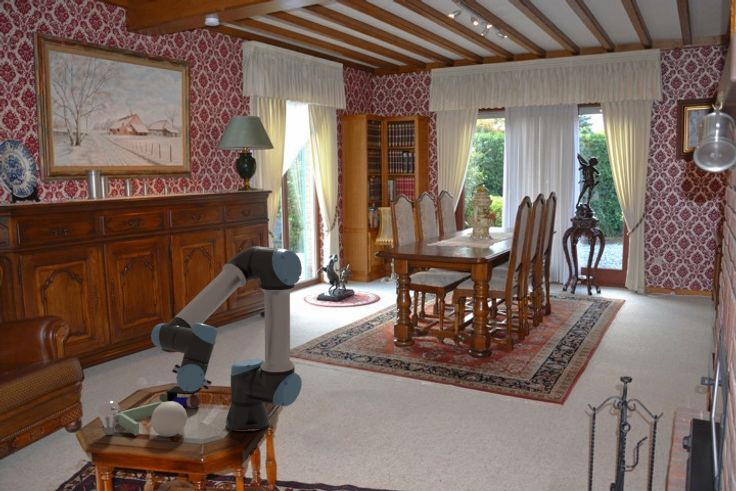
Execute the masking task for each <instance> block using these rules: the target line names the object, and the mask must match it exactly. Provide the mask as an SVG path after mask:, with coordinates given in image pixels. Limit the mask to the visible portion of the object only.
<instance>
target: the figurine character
mask: <svg viewBox="0 0 736 491" xmlns="http://www.w3.org/2000/svg"><path fill="white" fill-rule="evenodd" d="M202 389H203V387H200V388H199V389H198V390H196V391H191V392H189V391H183V389H181V388H180V387H179V385H175V386H173V387H172V388H169V389H168V390H166V391H165V392H162V393H160V394H159V400H160V401H163V402H169V401H173V402H177V403H179V404H180V405H182V406H187V407H188V408H190V409H195V408H198V406H200V405H201V399H200V397H199V396H198V395H197V394H196V393H198V392H199V391H201V390H202ZM178 395H189V396H178Z"/></svg>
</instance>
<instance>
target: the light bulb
mask: <svg viewBox="0 0 736 491" xmlns="http://www.w3.org/2000/svg"><path fill="white" fill-rule="evenodd" d="M120 412H121V407H120V405H119V403H117V401H115V400H111V399H110V400H105V401H104V402H102V403H100V404H99V407H98V410H97V415H98V418H99V419H100V420H101V422H102V424H103V428H104V429H103V430H104V433H105V435H107V436H108V435H110V436H112V435H113V434H114V433H115V431H116V430H115V429H116V428H115V427H116V426H115V425H116V424H117V418H118V416H119V414H120Z"/></svg>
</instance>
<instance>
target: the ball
mask: <svg viewBox="0 0 736 491" xmlns="http://www.w3.org/2000/svg"><path fill="white" fill-rule="evenodd" d="M183 406H184V405H180V404H179V403H177V402H173V401H169V402H167V401H166V402H164V403H162V404H160V405H159V406H158V407H157V408H156V409H155V410H154V412H153V414H152V416H151V420H150V421H151V426H152V429H153V431H155V433H156V434H158V435H159V436H162V437H167V438H168V437H169V438H171V437H173V436H176V435H178V434H180V433H181V432H182V431H183V430H184V428H185V427H186V424H187V420H188V414H187V411H186V409H185V408H184V407H183Z"/></svg>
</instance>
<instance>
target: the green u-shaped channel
mask: <svg viewBox="0 0 736 491" xmlns="http://www.w3.org/2000/svg"><path fill="white" fill-rule="evenodd" d="M162 403H164V402H163V401H161V400H160V401H156V402H153V403H152V402H151V403H149V404H145V405H142V406H138V407H134V408H133V407H132V408H130V409H126V410H123V411H121V410H120V414H119V416H118V418H117V419H116V424H117V423H118V424H117V425H119V426H120V427H122V428H123V429H124V430H126V431H127V432H129V433H130V434H133V435H134V436H138V435H140V423H139V422H138V421H136V420H140V419H143V418H148V417H152V414H153V412H154V410H155V409H156V408H157V407H158V406H159V405H160V404H162Z"/></svg>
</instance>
